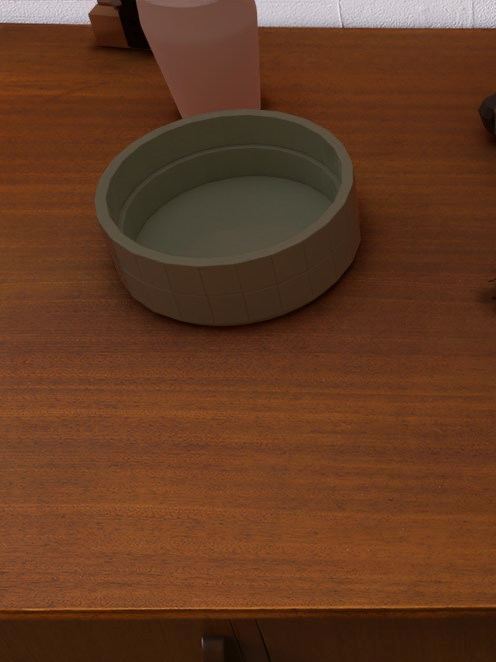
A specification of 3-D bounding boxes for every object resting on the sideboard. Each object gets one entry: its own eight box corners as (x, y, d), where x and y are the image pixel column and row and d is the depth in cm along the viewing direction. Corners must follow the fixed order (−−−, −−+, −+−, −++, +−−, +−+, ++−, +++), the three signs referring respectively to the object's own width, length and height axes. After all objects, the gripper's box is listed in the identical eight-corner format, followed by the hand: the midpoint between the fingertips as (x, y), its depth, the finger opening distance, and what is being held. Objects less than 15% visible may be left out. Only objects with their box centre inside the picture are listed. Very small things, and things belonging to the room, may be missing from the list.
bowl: (77, 316, 69) (49, 250, 65) (171, 163, 81) (153, 99, 77) (326, 343, 68) (314, 278, 63) (384, 184, 80) (378, 120, 75)
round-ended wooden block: (95, 48, 93) (85, 16, 90) (108, 32, 95) (99, 0, 92) (204, 58, 92) (197, 26, 90) (215, 41, 94) (208, 9, 92)
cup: (289, 89, 89) (266, -42, 80) (253, 148, 83) (224, 14, 74) (192, 78, 90) (159, -52, 81) (150, 136, 84) (109, 2, 75)
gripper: (92, -208, 85) (146, -5, 99) (2, -135, 75) (76, 82, 88) (177, -202, 85) (219, 1, 98) (98, -127, 74) (158, 90, 87)
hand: (151, 38), depth 93 cm, fingers closed on round-ended wooden block, 2 cm apart
